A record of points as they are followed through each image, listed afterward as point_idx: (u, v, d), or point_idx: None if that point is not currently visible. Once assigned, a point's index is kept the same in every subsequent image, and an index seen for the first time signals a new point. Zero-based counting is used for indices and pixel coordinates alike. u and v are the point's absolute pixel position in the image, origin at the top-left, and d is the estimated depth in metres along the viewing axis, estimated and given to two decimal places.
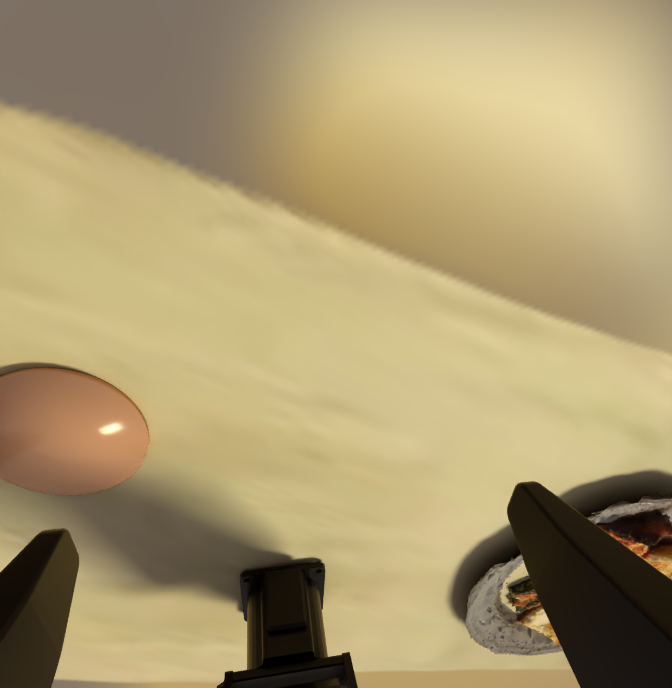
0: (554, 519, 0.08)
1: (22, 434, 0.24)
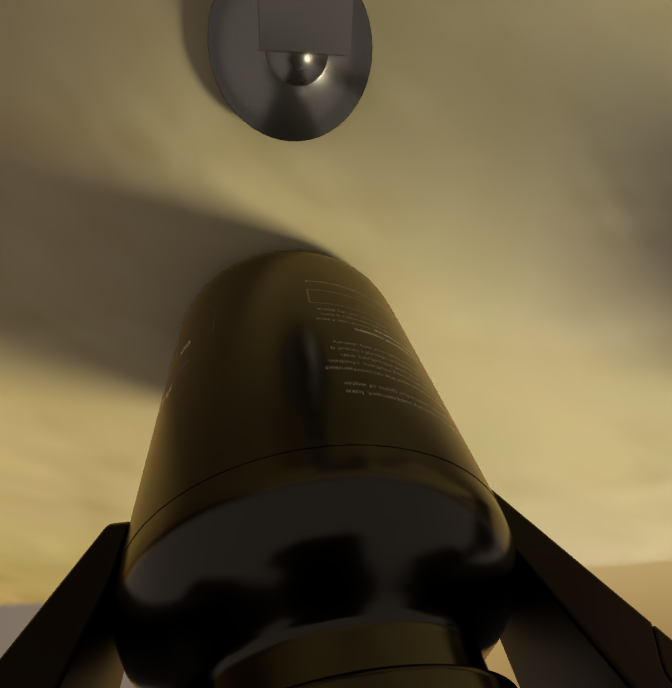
0: None
1: None
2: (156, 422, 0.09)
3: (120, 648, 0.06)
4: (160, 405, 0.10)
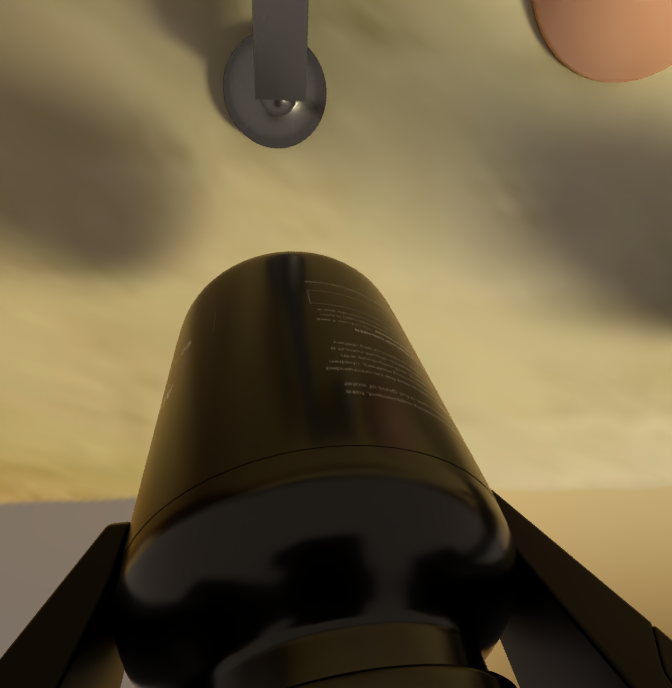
0: None
1: None
2: (157, 422, 0.09)
3: (121, 648, 0.06)
4: (161, 405, 0.10)
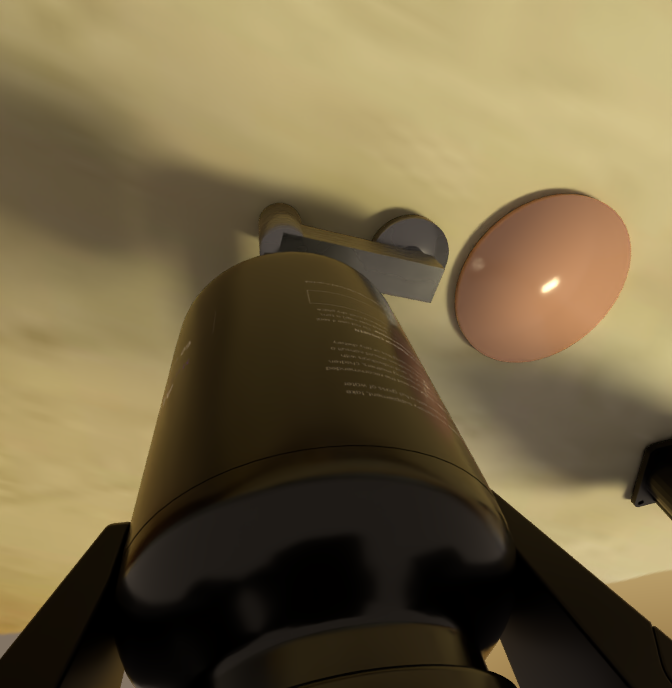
0: None
1: (512, 286, 0.22)
2: (157, 422, 0.09)
3: (121, 648, 0.06)
4: (161, 405, 0.10)
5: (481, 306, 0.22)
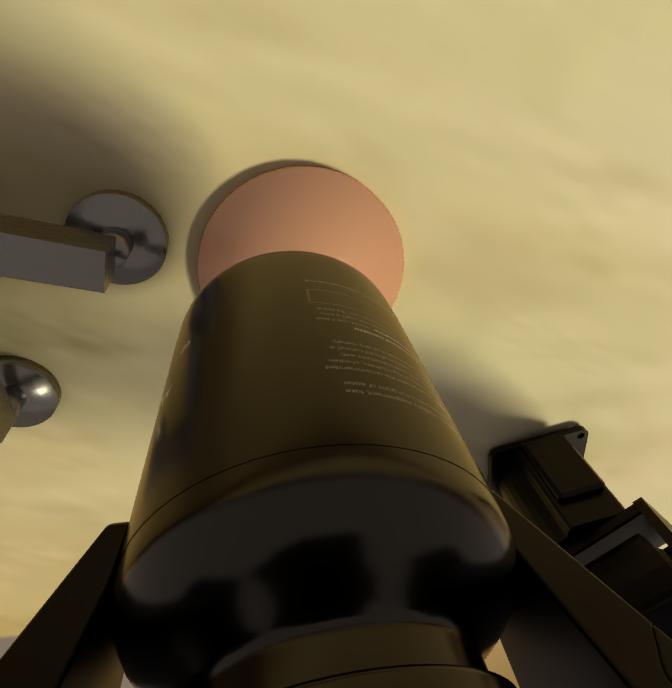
0: None
1: None
2: (156, 421, 0.09)
3: (119, 647, 0.06)
4: (160, 404, 0.10)
5: None
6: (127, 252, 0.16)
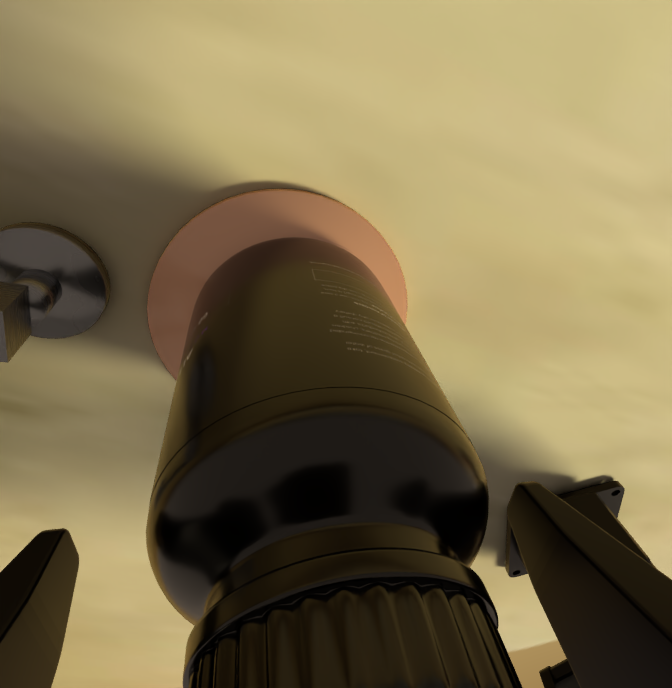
0: (554, 519, 0.08)
1: None
2: (178, 381, 0.10)
3: (156, 554, 0.08)
4: (180, 368, 0.11)
5: None
6: (47, 304, 0.13)
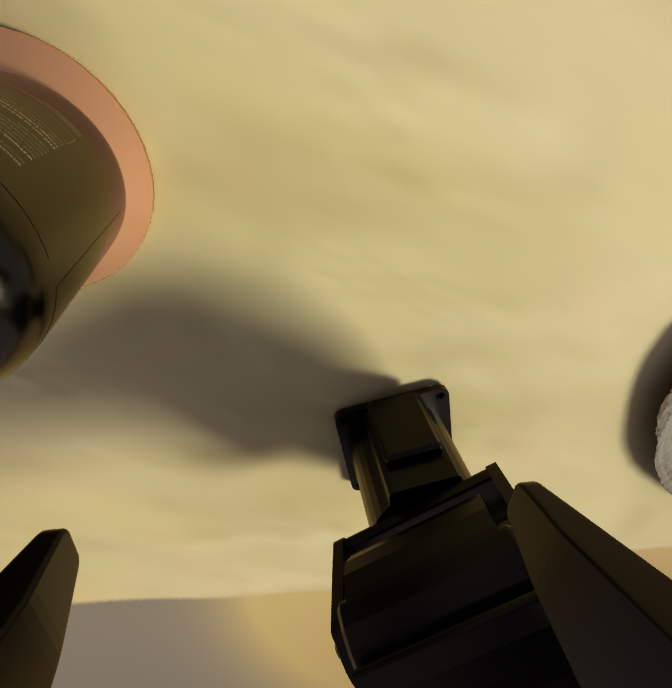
0: (554, 519, 0.08)
1: None
2: None
3: None
4: None
5: None
6: None
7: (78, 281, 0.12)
